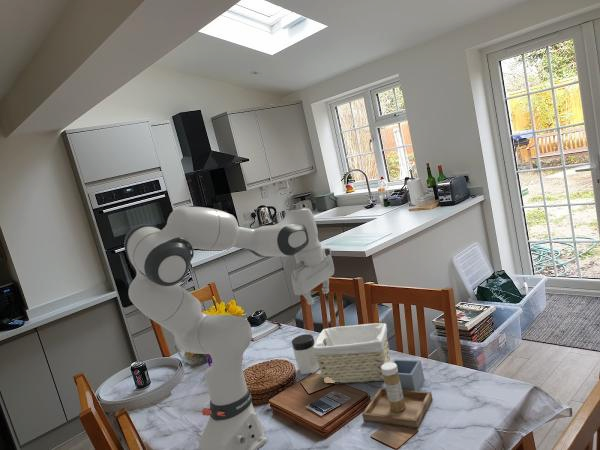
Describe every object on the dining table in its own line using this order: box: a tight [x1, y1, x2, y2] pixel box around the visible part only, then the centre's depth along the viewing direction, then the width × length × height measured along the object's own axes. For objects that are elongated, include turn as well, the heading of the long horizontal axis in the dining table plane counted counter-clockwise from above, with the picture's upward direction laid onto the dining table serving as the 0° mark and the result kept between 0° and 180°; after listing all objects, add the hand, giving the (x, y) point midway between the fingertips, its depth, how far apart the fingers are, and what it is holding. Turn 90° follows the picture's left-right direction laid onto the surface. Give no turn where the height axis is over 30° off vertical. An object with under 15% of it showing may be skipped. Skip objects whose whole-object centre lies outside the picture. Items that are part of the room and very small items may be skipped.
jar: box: [291, 333, 320, 375], centre depth 172 cm, size 9×8×12 cm
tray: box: [361, 387, 434, 430], centre depth 134 cm, size 14×16×2 cm
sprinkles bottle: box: [381, 361, 406, 412], centre depth 134 cm, size 5×5×14 cm
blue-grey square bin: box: [392, 358, 425, 391], centre depth 146 cm, size 9×9×6 cm
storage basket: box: [313, 322, 391, 384], centre depth 160 cm, size 24×16×15 cm
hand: (319, 298), depth 149 cm, fingers open, 8 cm apart
